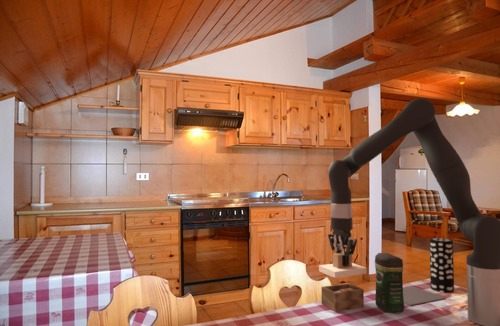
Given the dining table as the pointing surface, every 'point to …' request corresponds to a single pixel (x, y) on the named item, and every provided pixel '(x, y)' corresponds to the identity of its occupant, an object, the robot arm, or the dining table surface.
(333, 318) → the dining table surface
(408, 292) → the mat
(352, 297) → the tea box
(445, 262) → the spotted tube
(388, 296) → the coffee jar
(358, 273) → the lid
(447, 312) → the dining table surface
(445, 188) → the robot arm
